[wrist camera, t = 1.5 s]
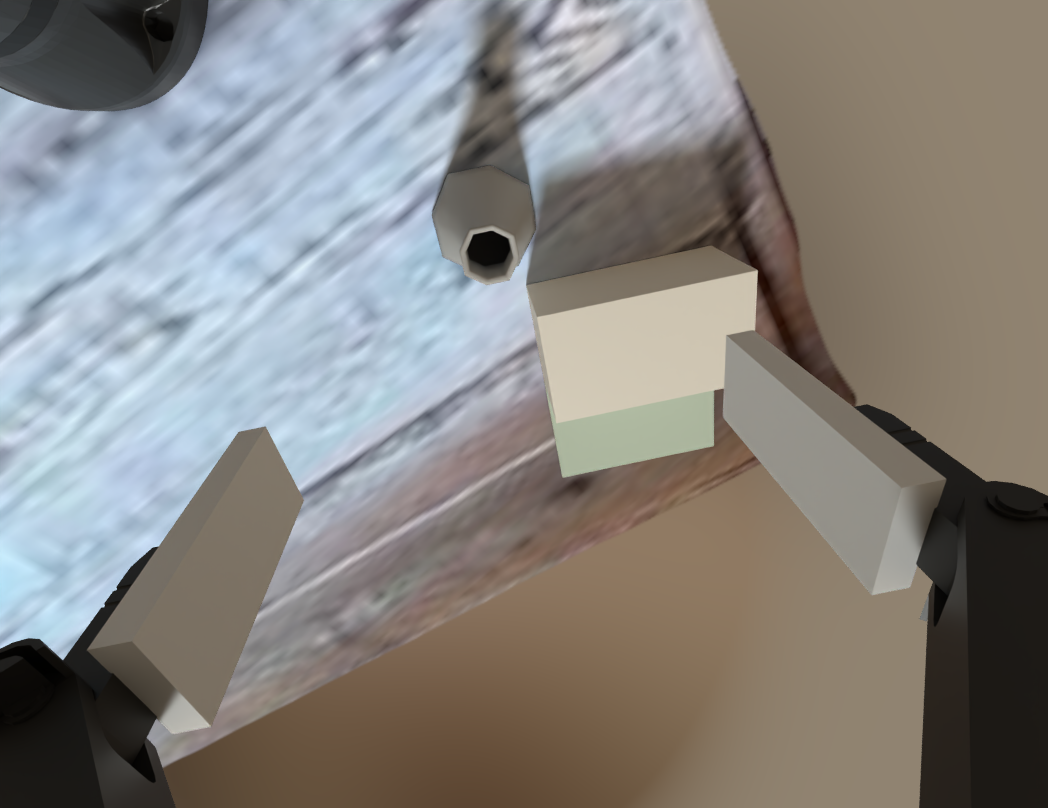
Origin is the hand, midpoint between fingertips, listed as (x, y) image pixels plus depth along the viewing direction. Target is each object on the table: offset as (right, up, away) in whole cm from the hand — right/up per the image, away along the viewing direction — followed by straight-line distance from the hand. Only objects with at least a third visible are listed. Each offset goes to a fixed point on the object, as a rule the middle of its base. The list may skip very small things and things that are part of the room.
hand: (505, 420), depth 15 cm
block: (+8, +7, +25) cm, 27 cm away
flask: (-2, +13, +21) cm, 25 cm away
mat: (+10, 0, +30) cm, 31 cm away
